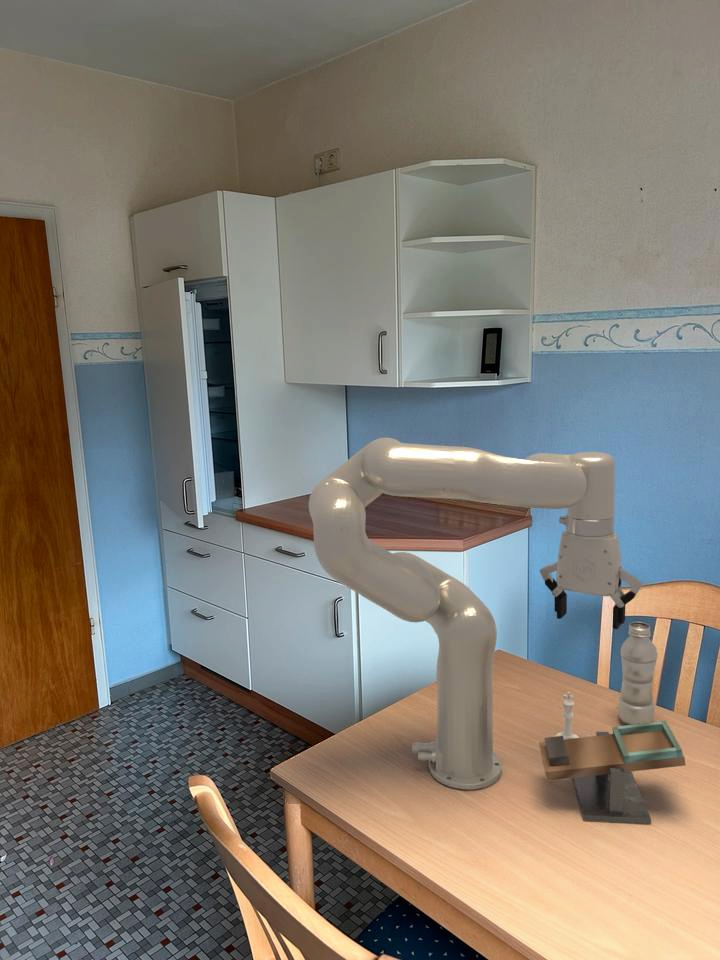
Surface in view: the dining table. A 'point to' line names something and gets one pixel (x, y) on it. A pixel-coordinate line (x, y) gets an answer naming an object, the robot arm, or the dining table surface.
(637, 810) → the stand
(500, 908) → the dining table surface
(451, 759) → the robot arm
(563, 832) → the dining table surface
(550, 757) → the balance beam
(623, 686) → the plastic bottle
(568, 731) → the chess piece
